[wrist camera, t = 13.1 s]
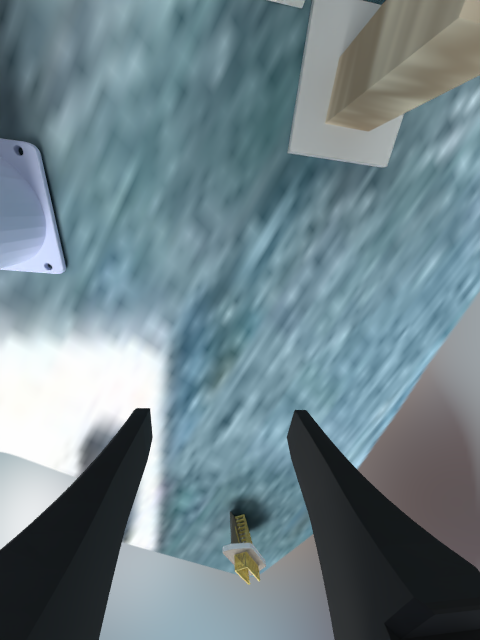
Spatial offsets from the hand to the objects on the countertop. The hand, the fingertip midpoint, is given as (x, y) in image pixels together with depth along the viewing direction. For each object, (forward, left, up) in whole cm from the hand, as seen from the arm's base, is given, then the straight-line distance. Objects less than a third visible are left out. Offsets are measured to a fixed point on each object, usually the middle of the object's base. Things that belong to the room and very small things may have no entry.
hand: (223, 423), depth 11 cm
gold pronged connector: (+6, -35, -11) cm, 37 cm away
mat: (+7, +17, -10) cm, 21 cm away
